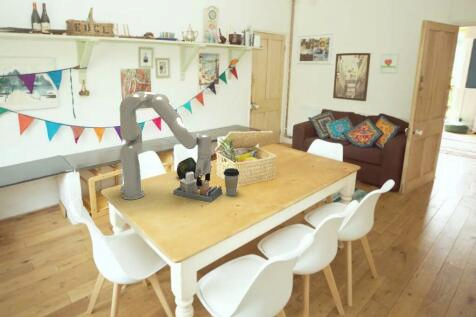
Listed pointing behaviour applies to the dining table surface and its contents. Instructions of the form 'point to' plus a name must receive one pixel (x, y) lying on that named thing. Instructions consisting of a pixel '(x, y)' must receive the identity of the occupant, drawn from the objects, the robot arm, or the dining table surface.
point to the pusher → (211, 191)
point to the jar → (204, 188)
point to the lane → (212, 197)
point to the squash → (186, 166)
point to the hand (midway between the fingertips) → (203, 183)
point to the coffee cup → (231, 181)
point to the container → (188, 183)
